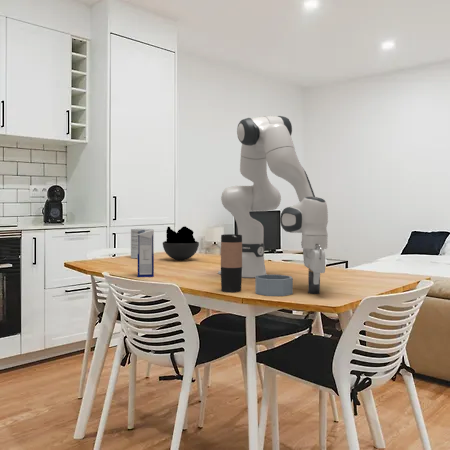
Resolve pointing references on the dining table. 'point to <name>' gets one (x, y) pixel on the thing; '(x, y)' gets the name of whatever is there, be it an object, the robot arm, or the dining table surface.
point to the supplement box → (135, 242)
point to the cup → (274, 285)
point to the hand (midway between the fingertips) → (314, 282)
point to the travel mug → (231, 262)
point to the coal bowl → (180, 244)
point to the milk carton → (146, 253)
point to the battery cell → (312, 287)
